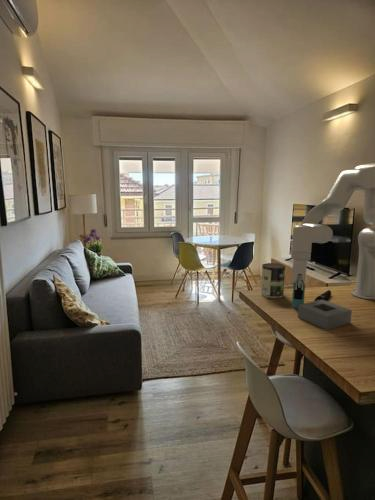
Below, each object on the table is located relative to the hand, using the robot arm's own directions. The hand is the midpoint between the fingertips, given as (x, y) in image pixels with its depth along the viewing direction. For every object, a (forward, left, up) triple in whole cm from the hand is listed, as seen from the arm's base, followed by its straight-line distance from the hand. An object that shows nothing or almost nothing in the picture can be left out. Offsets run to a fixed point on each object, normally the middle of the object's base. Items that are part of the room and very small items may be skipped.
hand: (297, 295), depth 134 cm
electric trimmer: (-13, +11, -6) cm, 18 cm away
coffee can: (-13, -11, -5) cm, 18 cm away
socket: (+12, +9, -5) cm, 16 cm away
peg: (0, 0, -5) cm, 5 cm away
